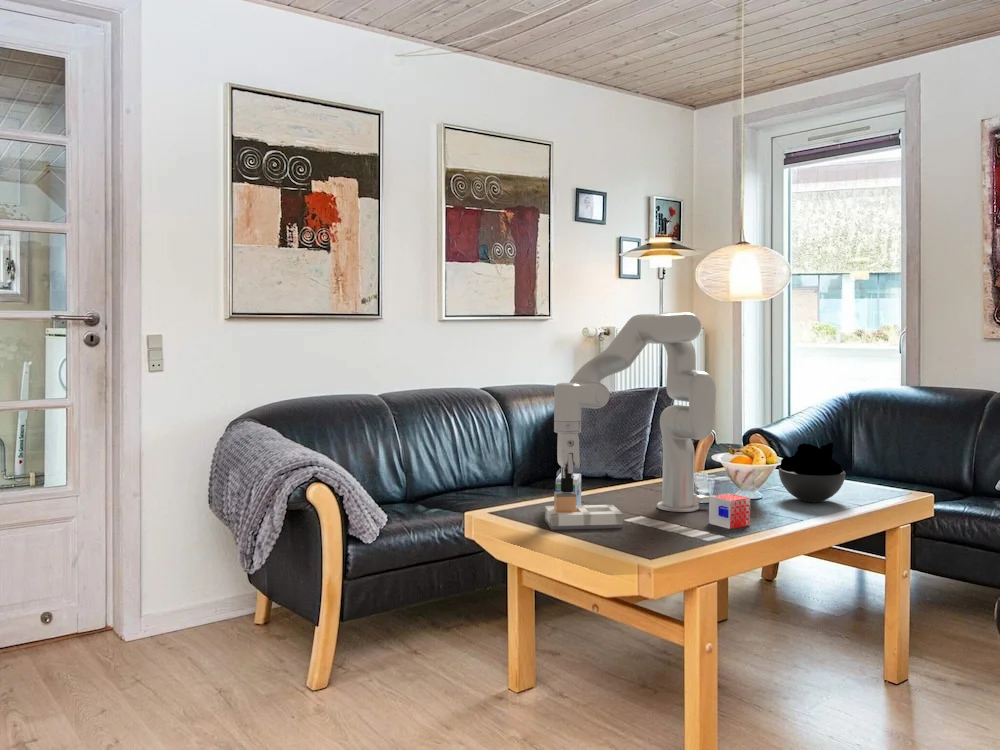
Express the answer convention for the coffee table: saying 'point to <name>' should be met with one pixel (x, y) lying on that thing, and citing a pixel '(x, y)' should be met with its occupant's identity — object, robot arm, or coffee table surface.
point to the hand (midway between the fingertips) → (566, 491)
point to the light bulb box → (575, 486)
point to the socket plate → (585, 517)
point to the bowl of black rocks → (811, 473)
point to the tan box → (564, 502)
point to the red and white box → (729, 510)
